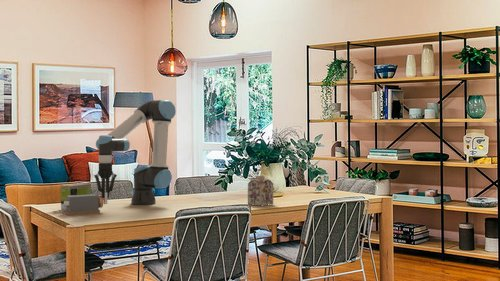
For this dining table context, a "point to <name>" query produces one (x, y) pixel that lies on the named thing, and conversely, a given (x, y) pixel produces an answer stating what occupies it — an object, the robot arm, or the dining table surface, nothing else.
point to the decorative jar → (260, 191)
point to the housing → (82, 205)
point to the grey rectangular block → (66, 203)
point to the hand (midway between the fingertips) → (105, 203)
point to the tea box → (74, 191)
